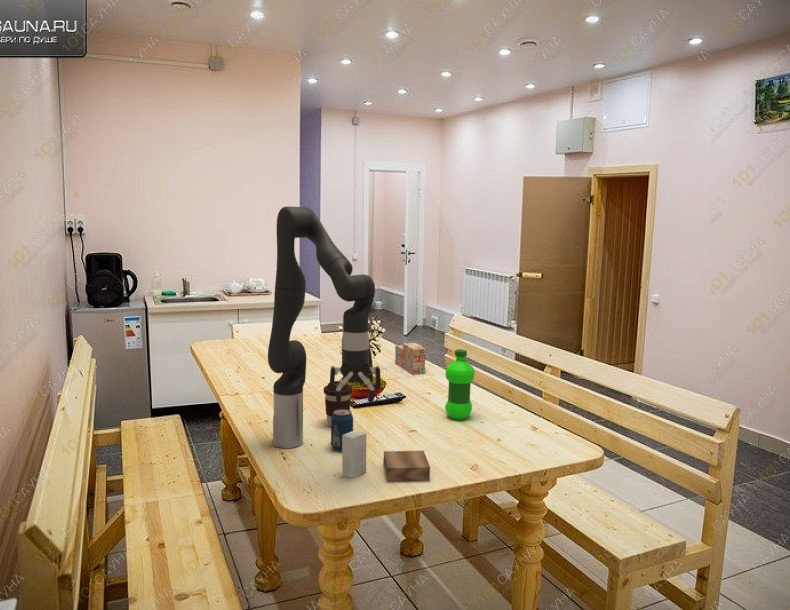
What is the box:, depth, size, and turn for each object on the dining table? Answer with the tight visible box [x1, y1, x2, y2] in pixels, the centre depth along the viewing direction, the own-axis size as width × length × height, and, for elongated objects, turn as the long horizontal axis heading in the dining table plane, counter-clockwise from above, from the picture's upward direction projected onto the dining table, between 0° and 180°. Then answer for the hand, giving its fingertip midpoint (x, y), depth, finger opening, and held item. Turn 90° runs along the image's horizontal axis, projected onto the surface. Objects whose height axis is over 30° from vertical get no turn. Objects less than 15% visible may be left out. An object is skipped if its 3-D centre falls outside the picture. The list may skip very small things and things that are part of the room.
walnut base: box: [382, 450, 431, 483], centre depth 183 cm, size 12×12×4 cm
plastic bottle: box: [444, 349, 476, 421], centre depth 229 cm, size 10×10×25 cm
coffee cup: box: [323, 380, 353, 428], centre depth 219 cm, size 10×10×15 cm
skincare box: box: [341, 429, 367, 479], centre depth 180 cm, size 6×4×12 cm
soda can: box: [330, 409, 354, 453], centre depth 199 cm, size 7×7×12 cm
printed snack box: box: [394, 342, 427, 376], centre depth 296 cm, size 21×6×12 cm, turn 22°
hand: (354, 402), depth 178 cm, fingers open, 8 cm apart
